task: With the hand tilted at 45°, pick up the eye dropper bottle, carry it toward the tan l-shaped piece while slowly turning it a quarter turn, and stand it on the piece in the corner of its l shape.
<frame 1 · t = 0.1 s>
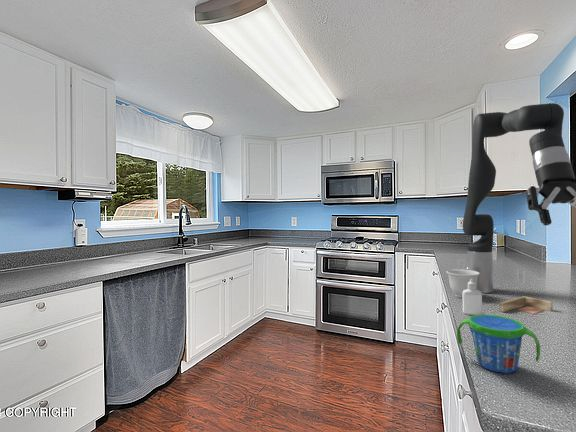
hand: (567, 224, 76), 31 cm above the countertop, tool tilted 20°, fingers open, 8 cm apart
tan l-shaped piece: (530, 310, 105), on the countertop
eye dropper bottle: (472, 314, 103), on the countertop
snack cup: (496, 366, 69), on the countertop
teacup: (461, 295, 125), on the countertop
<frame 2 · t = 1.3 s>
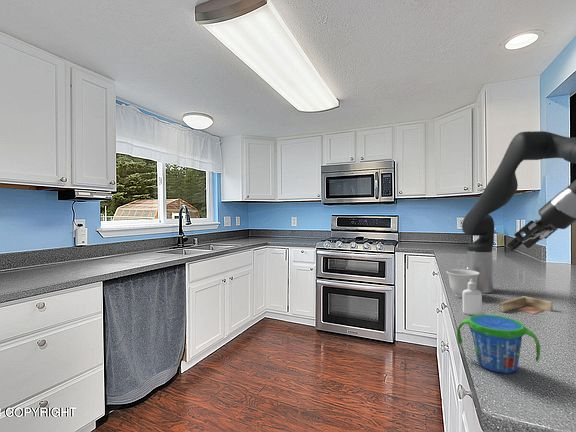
hand: (517, 246, 90), 24 cm above the countertop, tool tilted 45°, fingers open, 8 cm apart
nothing on the countertop moved.
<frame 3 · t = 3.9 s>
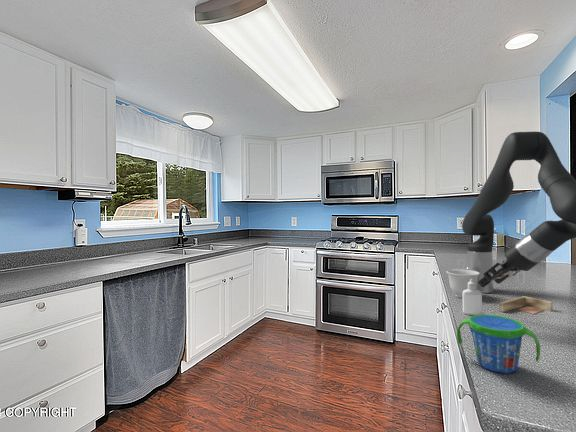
hand: (488, 283, 98), 12 cm above the countertop, tool tilted 45°, fingers open, 8 cm apart
nothing on the countertop moved.
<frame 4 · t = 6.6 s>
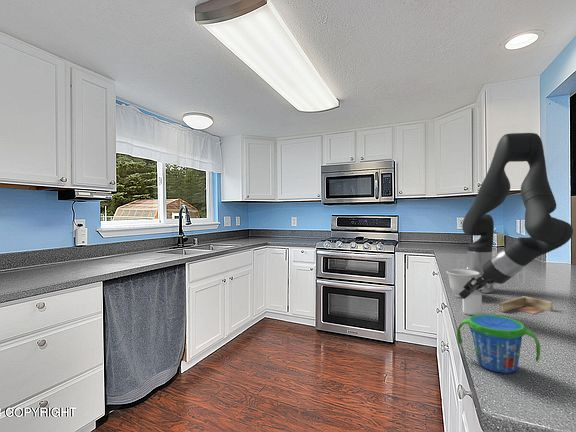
hand: (466, 295, 105), 6 cm above the countertop, tool tilted 45°, fingers closed on eye dropper bottle, 5 cm apart
eye dropper bottle: (472, 314, 103), on the countertop, touching gripper
everything else where it was.
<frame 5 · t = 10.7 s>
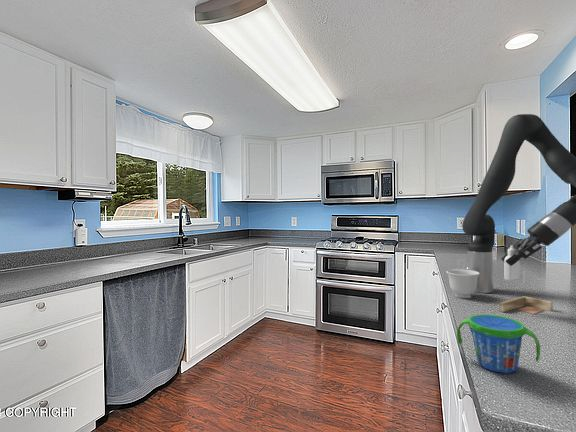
hand: (505, 262, 105), 17 cm above the countertop, tool tilted 45°, fingers closed on eye dropper bottle, 5 cm apart
eye dropper bottle: (511, 280, 105), point 11 cm above the countertop, touching gripper
everything else where it was.
when the fingers open (6 cm above the countertop, at t = 14.9 s): eye dropper bottle stays where it is, resting on tan l-shaped piece.
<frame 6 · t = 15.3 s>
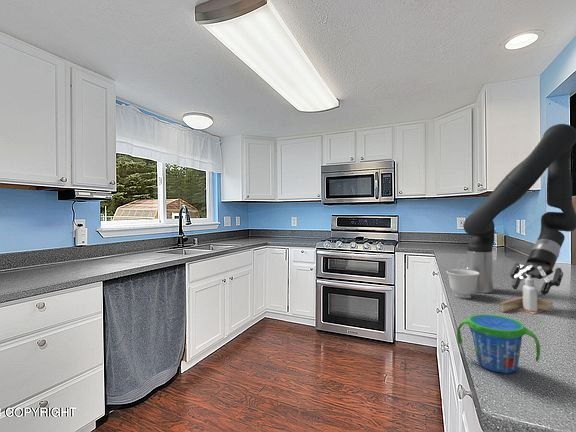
hand: (527, 290, 104), 7 cm above the countertop, tool tilted 45°, fingers open, 8 cm apart
eye dropper bottle: (529, 309, 105), resting on tan l-shaped piece
everything else where it was.
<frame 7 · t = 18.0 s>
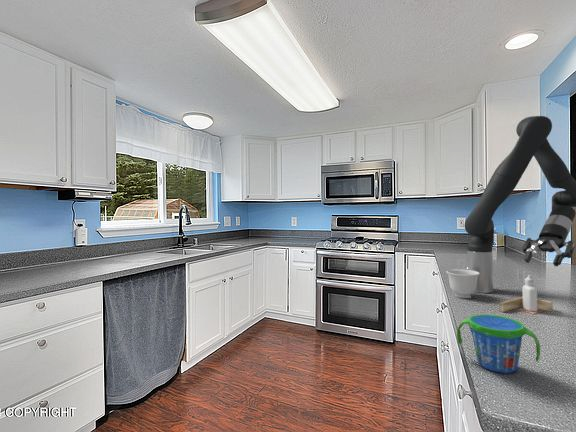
hand: (540, 263, 108), 16 cm above the countertop, tool tilted 45°, fingers open, 8 cm apart
nothing on the countertop moved.
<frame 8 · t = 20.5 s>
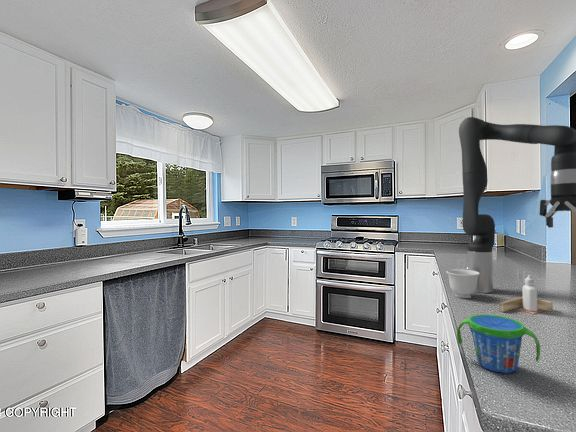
hand: (565, 227, 108), 28 cm above the countertop, tool pointing down, fingers open, 8 cm apart
nothing on the countertop moved.
at the end: eye dropper bottle 0.3 cm off-centre on the tan l-shaped piece, point 0.0 cm above the tan l-shaped piece's base; eye dropper bottle tilted 0°; the gripper is holding nothing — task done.
